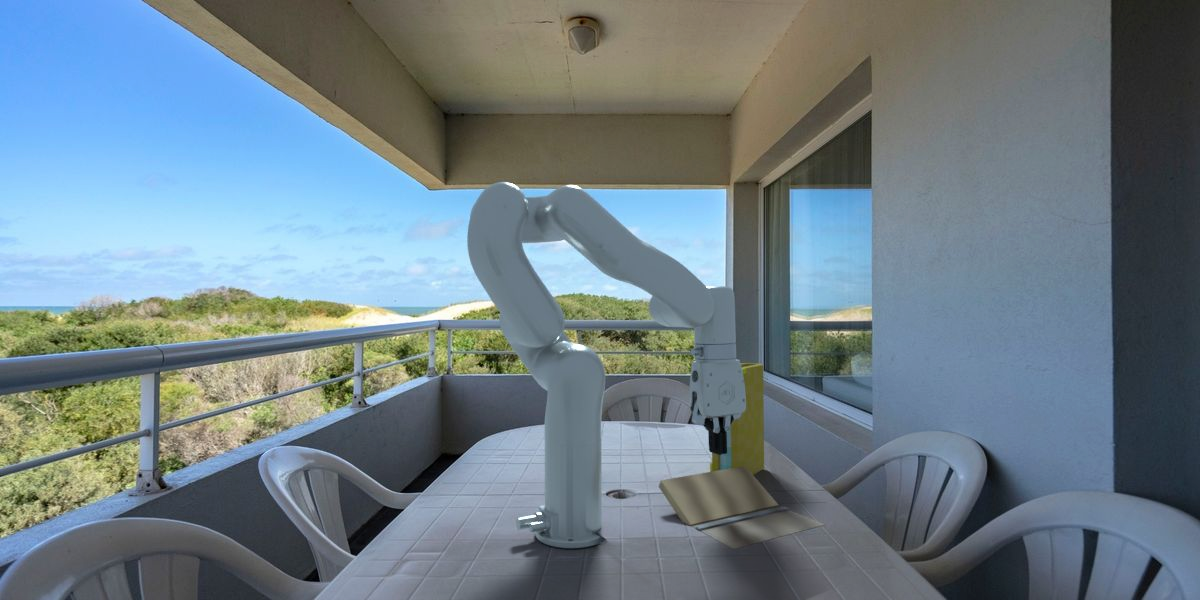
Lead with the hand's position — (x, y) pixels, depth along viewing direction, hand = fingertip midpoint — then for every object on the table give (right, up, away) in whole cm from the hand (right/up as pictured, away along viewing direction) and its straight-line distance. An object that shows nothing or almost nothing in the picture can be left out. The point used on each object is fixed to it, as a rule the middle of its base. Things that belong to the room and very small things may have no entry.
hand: (718, 452), depth 103 cm
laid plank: (+5, -11, -10) cm, 16 cm away
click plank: (0, -8, -1) cm, 8 cm away
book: (+10, -12, +21) cm, 26 cm away
